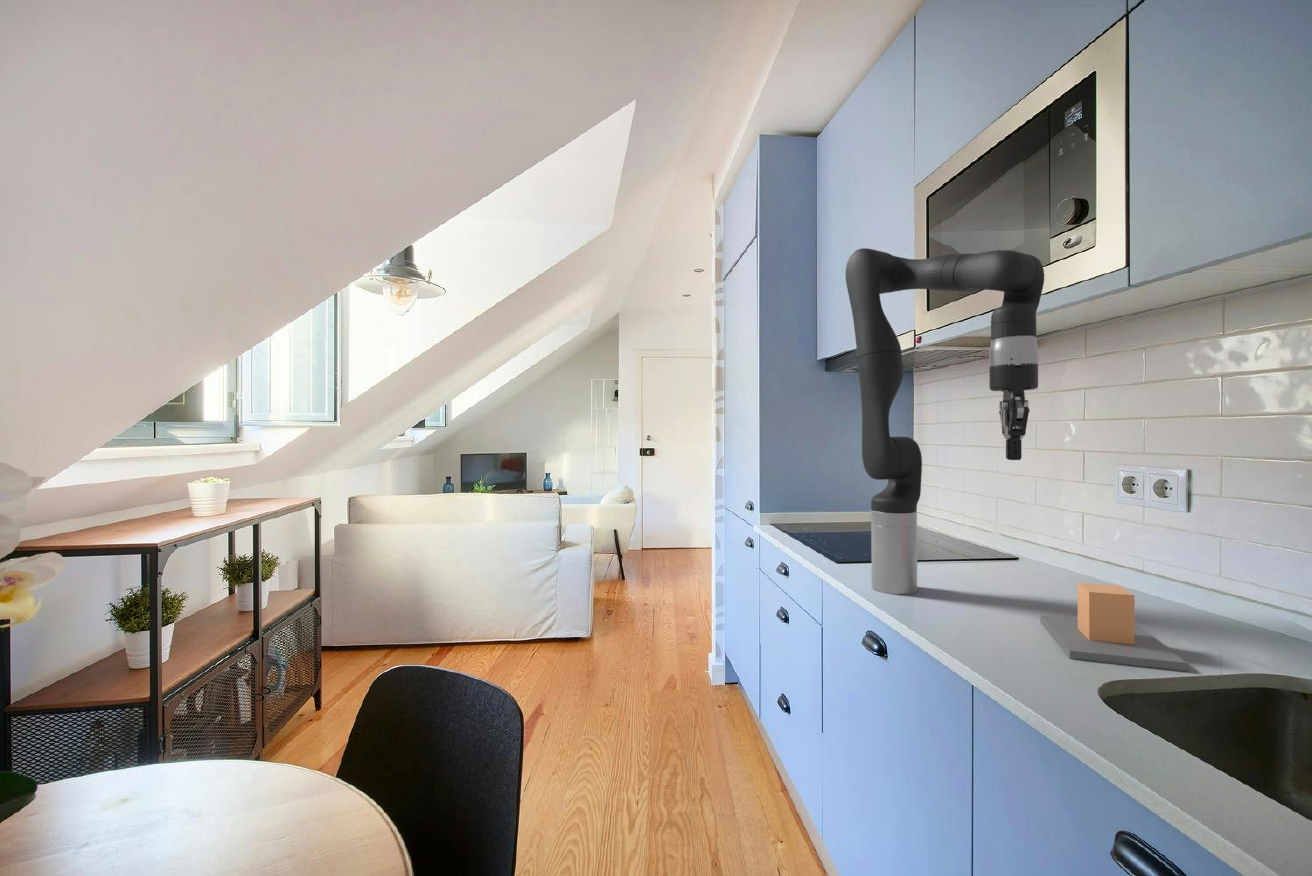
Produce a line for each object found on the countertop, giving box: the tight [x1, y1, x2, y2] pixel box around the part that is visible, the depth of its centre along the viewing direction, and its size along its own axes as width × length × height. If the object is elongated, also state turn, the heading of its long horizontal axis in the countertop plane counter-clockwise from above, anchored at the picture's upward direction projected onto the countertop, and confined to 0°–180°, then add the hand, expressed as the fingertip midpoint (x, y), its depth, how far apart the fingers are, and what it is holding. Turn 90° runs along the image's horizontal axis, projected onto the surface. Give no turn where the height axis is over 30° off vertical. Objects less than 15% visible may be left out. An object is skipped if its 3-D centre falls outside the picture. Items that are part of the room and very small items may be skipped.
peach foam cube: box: [1077, 582, 1135, 645], centre depth 94 cm, size 6×6×8 cm
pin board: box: [1039, 614, 1189, 673], centre depth 93 cm, size 18×14×7 cm
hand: (1013, 459), depth 106 cm, fingers closed
